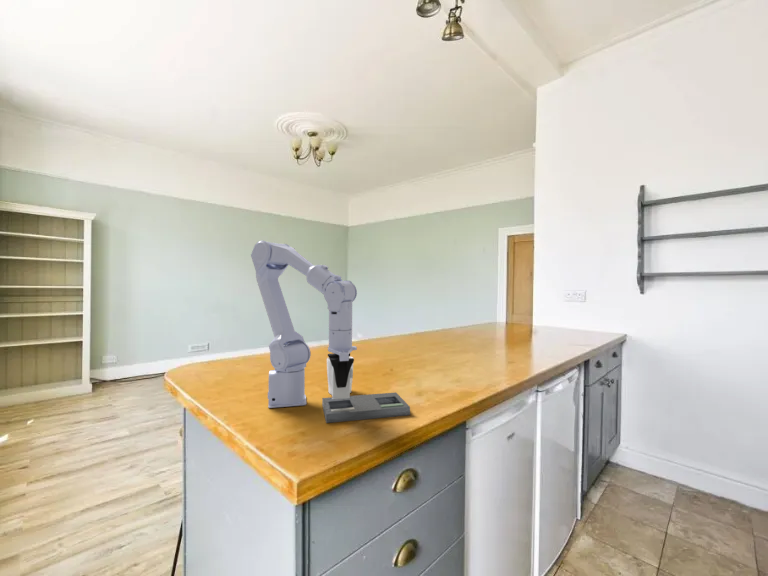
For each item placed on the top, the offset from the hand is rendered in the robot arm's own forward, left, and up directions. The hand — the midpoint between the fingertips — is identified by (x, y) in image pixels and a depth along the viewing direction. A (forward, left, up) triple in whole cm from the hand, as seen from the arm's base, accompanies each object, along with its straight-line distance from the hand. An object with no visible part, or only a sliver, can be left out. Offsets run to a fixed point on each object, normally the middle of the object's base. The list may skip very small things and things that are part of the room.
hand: (340, 384), depth 86 cm
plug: (0, 0, -3) cm, 3 cm away
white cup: (+2, +17, -7) cm, 18 cm away
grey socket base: (+6, 0, -7) cm, 9 cm away
